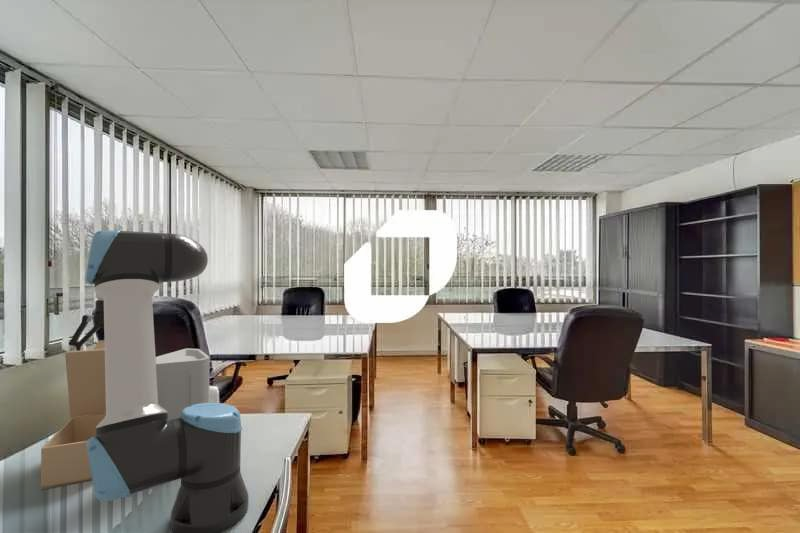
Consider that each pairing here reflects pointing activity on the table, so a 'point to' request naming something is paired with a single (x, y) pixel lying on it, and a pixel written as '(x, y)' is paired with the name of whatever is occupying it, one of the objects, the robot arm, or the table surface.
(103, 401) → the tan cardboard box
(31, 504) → the table surface
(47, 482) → the tan rectangular open box
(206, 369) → the grey tapered bin
